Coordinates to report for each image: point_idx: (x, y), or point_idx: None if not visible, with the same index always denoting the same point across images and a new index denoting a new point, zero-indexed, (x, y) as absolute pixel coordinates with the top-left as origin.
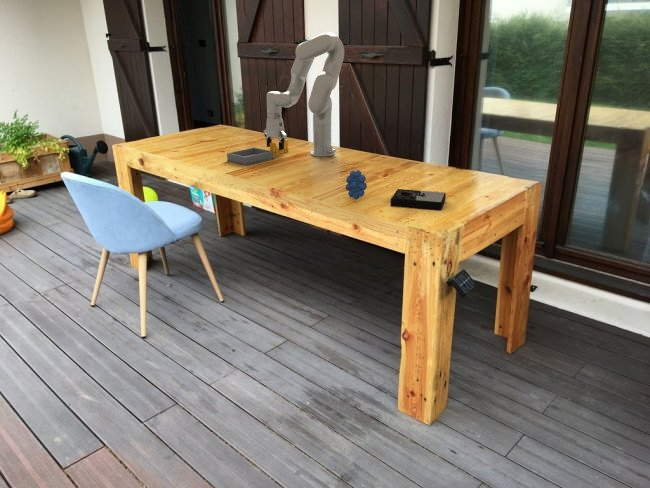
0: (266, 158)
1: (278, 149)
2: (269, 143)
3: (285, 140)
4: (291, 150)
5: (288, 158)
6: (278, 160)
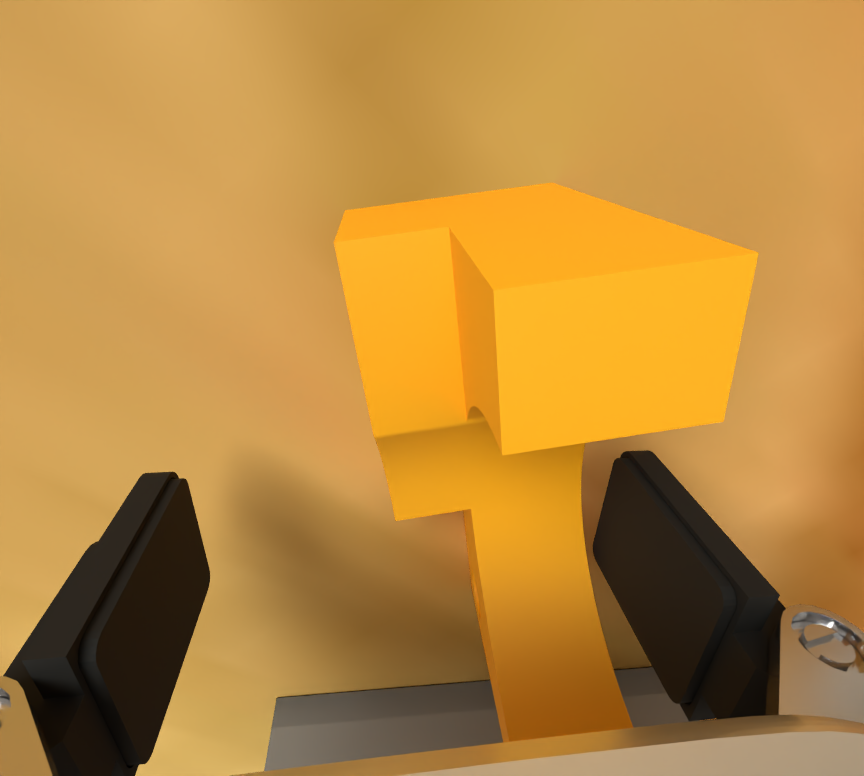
0: None
1: (582, 553)
2: (171, 604)
3: (710, 417)
4: (564, 33)
5: (849, 547)
6: None
